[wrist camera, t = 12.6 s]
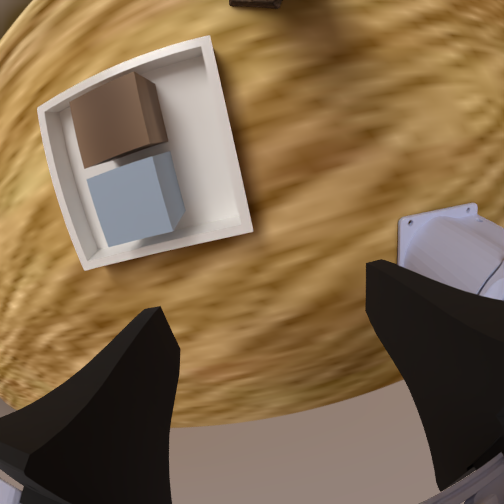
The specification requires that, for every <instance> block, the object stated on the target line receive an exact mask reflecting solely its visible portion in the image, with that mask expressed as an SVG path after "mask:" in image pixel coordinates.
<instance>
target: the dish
mask: <svg viewBox="0 0 504 504" xmlns="http://www.w3.org/2000/svg"><path fill="white" fill-rule="evenodd" d="M131 72H136V73H138V74H139V75H141V76H143V77H144V78H146V79H148V80H150V81H151V82H153V83H155V85H156V90H157V94H158V99H159V103H160V108H161V112H162V116H163V120H164V125H165V129H166V133H167V137H168V142H165V143H162V144H158V145H155V146H152V147H149V148H146V149H143V150H141V151H138V152H135V153H132V154H129V155H127V156H124V157H121V158H119V159H116V160H113V161H110V162H106V163H103V164H99V165H96V166H92V167H89V168H86V169H84V166H83V162H82V159H81V155H80V151H79V147H78V142H77V138H76V134H75V129H74V124H73V120H72V114H71V109H70V103H69V102H70V101H72V100H74V99H76V98H77V97H79V96H81V95H83V94H85V93H87V92H89V91H91V90H93V89H95V88H97V87H99V86H101V85H103V84H106V83H108V82H110V81H112V80H114V79H117V78H119V77H121V76H124V75H126V74H129V73H131ZM37 111H38V118H39V124H40V130H41V135H42V140H43V145H44V150H45V154H46V158H47V163H48V167H49V171H50V174H51V178H52V182H53V185H54V189H55V192H56V196H57V199H58V202H59V205H60V208H61V211H62V214H63V217H64V220H65V223H66V226H67V229H68V231H69V234H70V237H71V239H72V242H73V244H74V247H75V250H76V252H77V254H78V257H79V259H80V262H81V264H82V266H83V269H84V271H85V270H89V269H93V268H97V267H101V266H105V265H109V264H113V263H118V262H122V261H126V260H130V259H134V258H139V257H143V256H147V255H151V254H156V253H160V252H164V251H169V250H173V249H177V248H182V247H186V246H191V245H195V244H199V243H204V242H208V241H213V240H217V239H222V238H227V237H231V236H236V235H240V234H245V233H250V232H253V226H252V221H251V216H250V212H249V207H248V203H247V198H246V193H245V189H244V184H243V180H242V175H241V171H240V166H239V162H238V157H237V152H236V148H235V143H234V139H233V134H232V130H231V125H230V121H229V117H228V112H227V108H226V103H225V99H224V94H223V90H222V85H221V81H220V77H219V72H218V68H217V63H216V59H215V55H214V50H213V46H212V42H211V38H210V35H209V36H204V37H200V38H196V39H192V40H188V41H185V42H181V43H177V44H174V45H171V46H167V47H164V48H161V49H158V50H155V51H152V52H149V53H146V54H144V55H141V56H138V57H136V58H133V59H131V60H128V61H126V62H123V63H121V64H118V65H116V66H114V67H111V68H109V69H107V70H105V71H103V72H100V73H98V74H96V75H94V76H92V77H90V78H88V79H86V80H84V81H82V82H80V83H78V84H77V85H75V86H73V87H71V88H69V89H67V90H66V91H64V92H62V93H60V94H59V95H57V96H55V97H54V98H52V99H50V100H49V101H47V102H46V103H44V104H42V105H41V106H39V107H38V108H37ZM169 151H170V152H171V156H172V160H173V164H174V168H175V172H176V176H177V180H178V184H179V188H180V192H181V196H182V199H183V203H184V207H185V210H186V211H185V212H184V214H183V216H182V217H181V219H180V221H179V222H178V224H177V226H176V227H175V229H174V231H172V232H168V233H164V234H160V235H156V236H152V237H148V238H144V239H140V240H136V241H132V242H128V243H124V244H120V245H116V246H112V247H108V244H107V242H106V239H105V236H104V233H103V231H102V228H101V225H100V222H99V219H98V216H97V213H96V210H95V207H94V204H93V200H92V197H91V194H90V190H89V187H88V183H87V180H86V179H89V178H91V177H94V176H97V175H99V174H102V173H105V172H107V171H110V170H113V169H115V168H118V167H121V166H124V165H127V164H130V163H133V162H136V161H139V160H142V159H145V158H148V157H151V156H155V155H158V154H162V153H166V152H169Z"/></svg>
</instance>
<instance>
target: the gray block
mask: <svg viewBox="0 0 504 504" xmlns="http://www.w3.org/2000/svg"><path fill="white" fill-rule="evenodd" d="M86 180H87V183H88V187H89V190H90V194H91V197H92V200H93V204H94V207H95V210H96V213H97V216H98V219H99V222H100V225H101V228H102V231H103V233H104V236H105V239H106V242H107V244H108V247H112V246H116V245H120V244H124V243H128V242H132V241H136V240H140V239H144V238H148V237H152V236H156V235H160V234H164V233H168V232H172V231H174V229H175V227H176V226H177V224H178V222H179V221H180V219H181V217H182V216H183V214H184V212H185V211H186V210H185V207H184V203H183V199H182V196H181V192H180V188H179V184H178V180H177V176H176V172H175V168H174V164H173V160H172V156H171V152H170V151H169V152H166V153H162V154H158V155H155V156H151V157H148V158H145V159H142V160H139V161H136V162H133V163H130V164H127V165H124V166H121V167H118V168H115V169H113V170H110V171H107V172H105V173H102V174H99V175H97V176H94V177H91V178H89V179H86Z"/></svg>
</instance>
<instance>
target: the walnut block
mask: <svg viewBox="0 0 504 504" xmlns="http://www.w3.org/2000/svg"><path fill="white" fill-rule="evenodd" d="M69 103H70V109H71V114H72V120H73V124H74V129H75V134H76V138H77V142H78V147H79V151H80V155H81V159H82V162H83V166H84V169H86V168H89V167H92V166H96V165H99V164H103V163H106V162H110V161H113V160H116V159H119V158H121V157H124V156H127V155H129V154H132V153H135V152H138V151H141V150H143V149H146V148H149V147H152V146H155V145H158V144H162V143H165V142H168V137H167V133H166V129H165V125H164V120H163V116H162V112H161V108H160V103H159V99H158V94H157V90H156V85H155V83H153V82H151V81H150V80H148V79H146V78H144V77H143V76H141V75H139V74H138V73H136V72H131V73H129V74H126V75H124V76H121V77H119V78H117V79H114V80H112V81H110V82H108V83H106V84H103V85H101V86H99V87H97V88H95V89H93V90H91V91H89V92H87V93H85V94H83V95H81V96H79V97H77V98H76V99H74V100H72V101H70V102H69Z"/></svg>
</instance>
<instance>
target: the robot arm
mask: <svg viewBox="0 0 504 504" xmlns="http://www.w3.org/2000/svg"><path fill="white" fill-rule="evenodd" d="M477 209H478V208H477V204H475V203H468V204H463V205H459V206H454V207H449V208H444V209H439V210H434V211H429V212H424V213H420V214H415V215H410V216H405V217H402V218H401V219H400V220H399V222H398V263H397V264H394V263H391V262H389V261H386V260H382V259H381V260H377V261H373V262H369V263H366V310H365V311H366V313H367V315H368V317H369V320H370V322H371V324H372V326H373V328H374V330H375V332H376V334H377V336H378V337H379V339H380V341H381V342H382V344H383V345H384V347H385V349H386V350H387V352H388V354H389V355H390V357H391V358H392V360H393V362H394V363H395V365H396V366H397V368H398V370H399V371H400V373H401V375H402V376H403V378H404V380H405V382H406V384H407V386H408V388H409V390H410V393H411V395H412V397H413V400H414V402H415V405H416V407H417V410H418V413H419V415H420V418H421V421H422V424H423V427H424V430H425V433H426V437H427V440H428V443H429V447H430V451H431V456H432V460H433V465H434V470H435V476H436V483H437V485H438V488H439V490H440V491H443V490H444V491H443V492H441V493H439V494H437V495H435V496H433V497H431V498H430V499H428V500H426V501H424V502H422V503H419V504H460V503H462V502H464V501H465V500H466V501H465V502H464V504H504V228H502V227H500V226H499V225H497V224H495V223H493V222H491V221H489V220H487V219H485V218H483V217H481V216H479V215H477ZM466 210H467V211H466ZM410 220H411V222H410V224H409V225H408V222H409V221H410ZM179 369H180V347H179V345H178V343H177V341H176V339H175V337H174V335H173V333H172V331H171V328H170V326H169V324H168V322H167V320H166V318H165V315H164V313H163V311H162V309H161V306H159V307H153V308H147V309H144V310H143V311H142V312H141V313H140V314H138V315H137V316H136V317H135V318H134V319H133V320H132V321H131V322H130V323H129V324H128V325H127V326H126V327H125V328H124V329H123V330H122V331H121V332H120V333H119V334H118V335H117V336H116V337H115V338H114V339H113V340H112V341H111V342H110V343H109V344H108V345H107V346H106V347H105V348H104V349H103V350H102V351H101V352H99V353H98V354H97V355H96V356H95V357H94V358H93V359H92V360H91V361H90V362H89V363H88V364H87V365H86V366H84V367H83V368H82V369H81V370H80V371H78V372H77V373H76V374H75V375H73V376H72V377H71V378H70V379H68V380H67V381H66V382H64V383H63V384H61V385H60V386H59V387H57V388H56V389H54V390H53V391H51V392H50V393H48V394H47V395H45V396H44V397H42V398H40V399H39V400H37V401H35V402H33V403H31V404H30V405H28V406H26V407H24V408H22V409H20V410H18V411H16V412H13V413H11V414H9V415H6V416H3V417H1V418H0V469H1V470H2V471H4V472H5V473H6V474H8V475H9V476H10V477H12V478H13V479H14V480H16V481H17V482H19V483H20V484H22V485H23V486H24V488H23V491H21V490H19V489H17V488H16V487H14V486H13V485H11V484H9V483H8V482H6V481H4V480H3V479H1V478H0V504H172V500H171V491H170V480H169V479H170V478H169V432H170V424H171V418H172V412H173V406H174V400H175V395H176V389H177V383H178V378H179ZM475 470H476V471H475ZM474 471H475V472H474ZM472 472H473V473H472ZM471 473H472V474H471ZM469 474H470V475H469ZM468 475H469V476H468ZM466 476H467V477H466ZM465 477H466V478H465ZM463 478H464V479H463ZM461 479H463V480H461ZM460 480H461V481H460ZM458 481H460V482H458ZM456 482H458V483H456ZM455 483H456V484H455ZM453 484H455V485H453ZM452 485H453V486H452ZM450 486H451V487H450ZM448 487H450V488H448ZM447 488H448V489H447ZM445 489H446V490H445Z"/></svg>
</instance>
